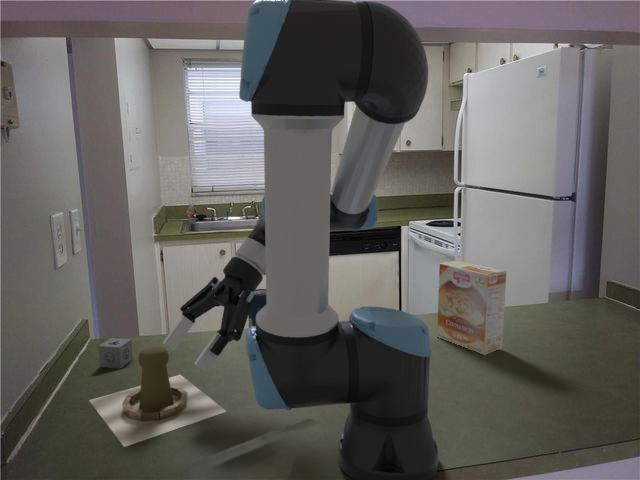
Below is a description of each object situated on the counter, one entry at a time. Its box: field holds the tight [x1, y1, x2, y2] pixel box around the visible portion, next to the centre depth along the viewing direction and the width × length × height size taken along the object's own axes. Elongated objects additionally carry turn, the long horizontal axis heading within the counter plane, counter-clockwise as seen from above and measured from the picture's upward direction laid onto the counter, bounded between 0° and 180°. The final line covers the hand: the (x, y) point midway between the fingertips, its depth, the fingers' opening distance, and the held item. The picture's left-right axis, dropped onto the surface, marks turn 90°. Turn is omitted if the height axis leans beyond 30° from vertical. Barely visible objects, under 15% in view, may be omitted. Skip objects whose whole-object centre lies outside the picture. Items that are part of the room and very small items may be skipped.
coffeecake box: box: [436, 259, 507, 354], centre depth 126 cm, size 15×7×20 cm, turn 33°
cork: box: [137, 345, 174, 410], centre depth 93 cm, size 6×6×11 cm
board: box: [88, 374, 228, 448], centre depth 94 cm, size 20×18×1 cm
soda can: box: [247, 288, 266, 328], centre depth 132 cm, size 7×7×12 cm
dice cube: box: [98, 337, 134, 370], centre depth 116 cm, size 5×5×5 cm
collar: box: [122, 385, 188, 421], centre depth 94 cm, size 11×11×2 cm
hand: (183, 357), depth 97 cm, fingers open, 13 cm apart
